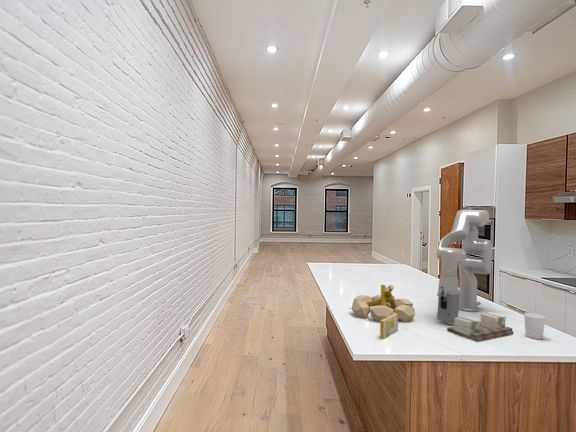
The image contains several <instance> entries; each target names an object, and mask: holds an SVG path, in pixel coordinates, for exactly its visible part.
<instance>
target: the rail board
mask: <svg viewBox="0 0 576 432" xmlns="http://www.w3.org/2000/svg"><path fill="white" fill-rule="evenodd" d="M506 320H507V319H506V315H502V314H499V313H495V312H491V311H489V312H483V313H480V320H478V319H475V318H472V317H469V316H465V315H463V316H458V317H456V318H454V323H453V325H454V326H449V327H447V328H446V331H447V332H449V333H453V334H454V335H458V336H460V337H463V338H466V339H468V340H470V341H473V342H475V343H476V342H477V343H478V342H484V341H489V340H493V339H497V338H498V339H499V338H503V337H507V336H512V335H514V331H513V328H512V327H509V326H506Z"/></svg>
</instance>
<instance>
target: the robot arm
mask: <svg viewBox="0 0 576 432" xmlns="http://www.w3.org/2000/svg"><path fill="white" fill-rule="evenodd" d="M489 220H490V213H489V211H488V210H487V209H486V210H485V209H460V210H458V211H456V215H455V218H454V221H453V225H452V228H451V231H450V232H449V233H447V234H446V235H444V236H443V237H442V238H441V239H440V240H439V242H438V246H437V250H436V258H437V259H438V260H439V261H440V262H441V271H440V272H441V274H440V276H439V280H438V281H439V282H438V290H437V291H438V292H437V293H436V296H437V297H438V299H440V300H441V308H443V309H446V306H447V302H446V298H447V296H448V293H452V292H458V293H460V300H459V311H460V310H461V311H463V310H464V312H472V313H473V312H479V311H480V308H479V307H478V306H480V305H482V302H481V301H477V300H478V299H477V298H478V297H477V296H478V279H477V278H476V276H475V274H478V275H489V274H490V273H491V271H492V260H493V259H492V258H493V257H492V256H493V246H492V242H491V240H488V239H483V238H482V239H481V238H480V239H479V229H478V227H479V228H480V227H483V226H486V225H487V224H488V223H489ZM458 242H461V248H458V247H457V248H456V247H448V246H449V245H451V244H454V243H458ZM467 255H471V256H467ZM472 255H475V256H472ZM476 256H481V257H476ZM458 271H459V279H458ZM443 293H444V295H443ZM443 296H445V297H444V298H443Z"/></svg>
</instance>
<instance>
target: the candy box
mask: <svg viewBox="0 0 576 432" xmlns="http://www.w3.org/2000/svg"><path fill="white" fill-rule="evenodd" d="M379 323H380V324H379V325H380V326H379V329H380V331H379V332H380V333H379V334H380V338H379V339H382V340H384V339H386V338H388V337H390V336H391V335H393V334H394V333H396V332H398V331H399V320H398V314H397V313H395V312H394V314H392V315H390V316H388V317H387V318H385V319H383V320H381V321H380V322H379Z"/></svg>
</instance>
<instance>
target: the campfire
mask: <svg viewBox="0 0 576 432" xmlns="http://www.w3.org/2000/svg"><path fill="white" fill-rule="evenodd" d="M394 289H395V288H394V286H393V285H392V284H390V285H388V286H386V285H385V284H381V285H380V294H376V295H374V296H370V295H364V294H360V295H357V296H355V297H354V298H353V301H352V305H351V310H352V312H353V313H354V315H355V316H357V317H358V318H361V319H364V318H368V316H369V314H370V317H371V318H372V319H373V320H374V321H376V322H379V323H380V321H381V320H383V319H385V318H387V317H388V316H390V315H392V314H394V313H397V314H398V321H401V322H403V323H404V322H405V323H407V322H411V321H412V320H413V319H414V317H415V315H416V310H415V307H413V305H414V303H413V302H411V301H410V300H409V299H407V298H397V299H396V298H395V296H394V295H393V294H392V291H394Z"/></svg>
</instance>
